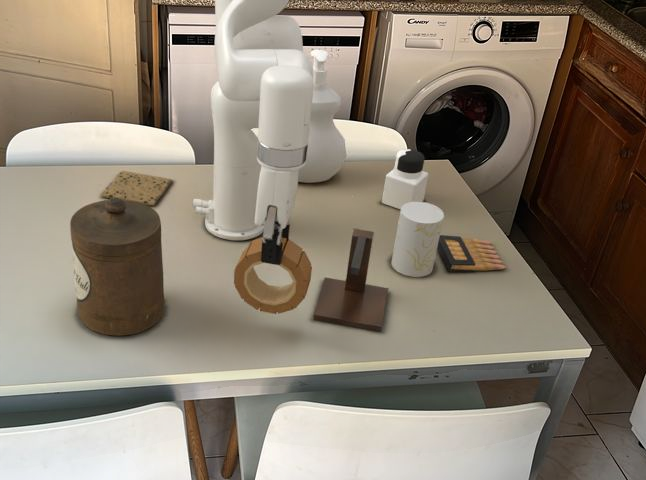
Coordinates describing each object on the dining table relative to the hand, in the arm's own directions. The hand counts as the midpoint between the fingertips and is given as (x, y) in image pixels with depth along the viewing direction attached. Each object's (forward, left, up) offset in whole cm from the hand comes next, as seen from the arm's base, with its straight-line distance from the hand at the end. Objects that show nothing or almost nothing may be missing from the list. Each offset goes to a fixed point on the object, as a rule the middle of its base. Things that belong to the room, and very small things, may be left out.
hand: (274, 252), depth 131 cm
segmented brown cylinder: (0, 0, -4) cm, 4 cm away
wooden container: (-26, -2, -16) cm, 31 cm away
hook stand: (+13, +11, -16) cm, 23 cm away
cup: (+23, +28, -16) cm, 40 cm away
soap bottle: (-4, +58, -16) cm, 61 cm away
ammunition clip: (+28, +33, -15) cm, 46 cm away
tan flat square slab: (-38, +40, -16) cm, 58 cm away
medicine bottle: (+19, +53, -16) cm, 59 cm away
